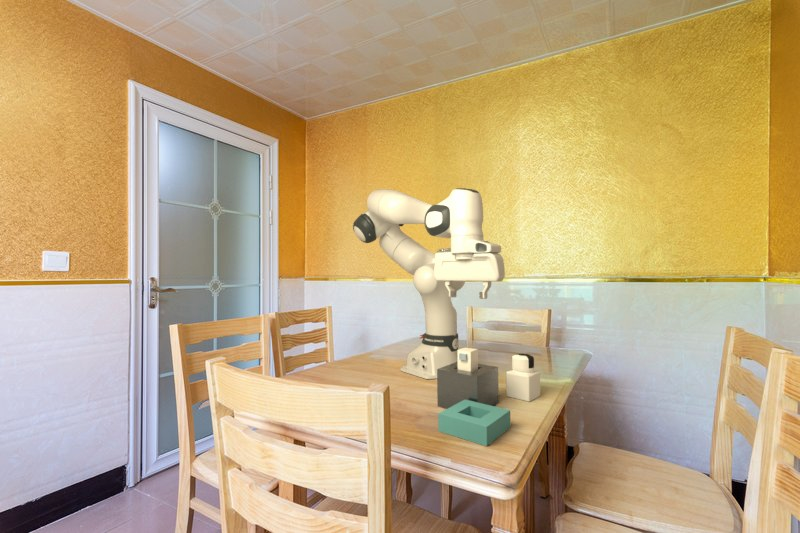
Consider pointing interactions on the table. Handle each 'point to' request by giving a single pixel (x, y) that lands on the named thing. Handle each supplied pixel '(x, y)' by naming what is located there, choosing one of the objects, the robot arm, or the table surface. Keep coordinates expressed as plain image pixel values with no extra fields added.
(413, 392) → the table surface
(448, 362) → the robot arm
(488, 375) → the dark grey square frame
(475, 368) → the plug
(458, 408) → the block
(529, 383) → the medicine bottle
